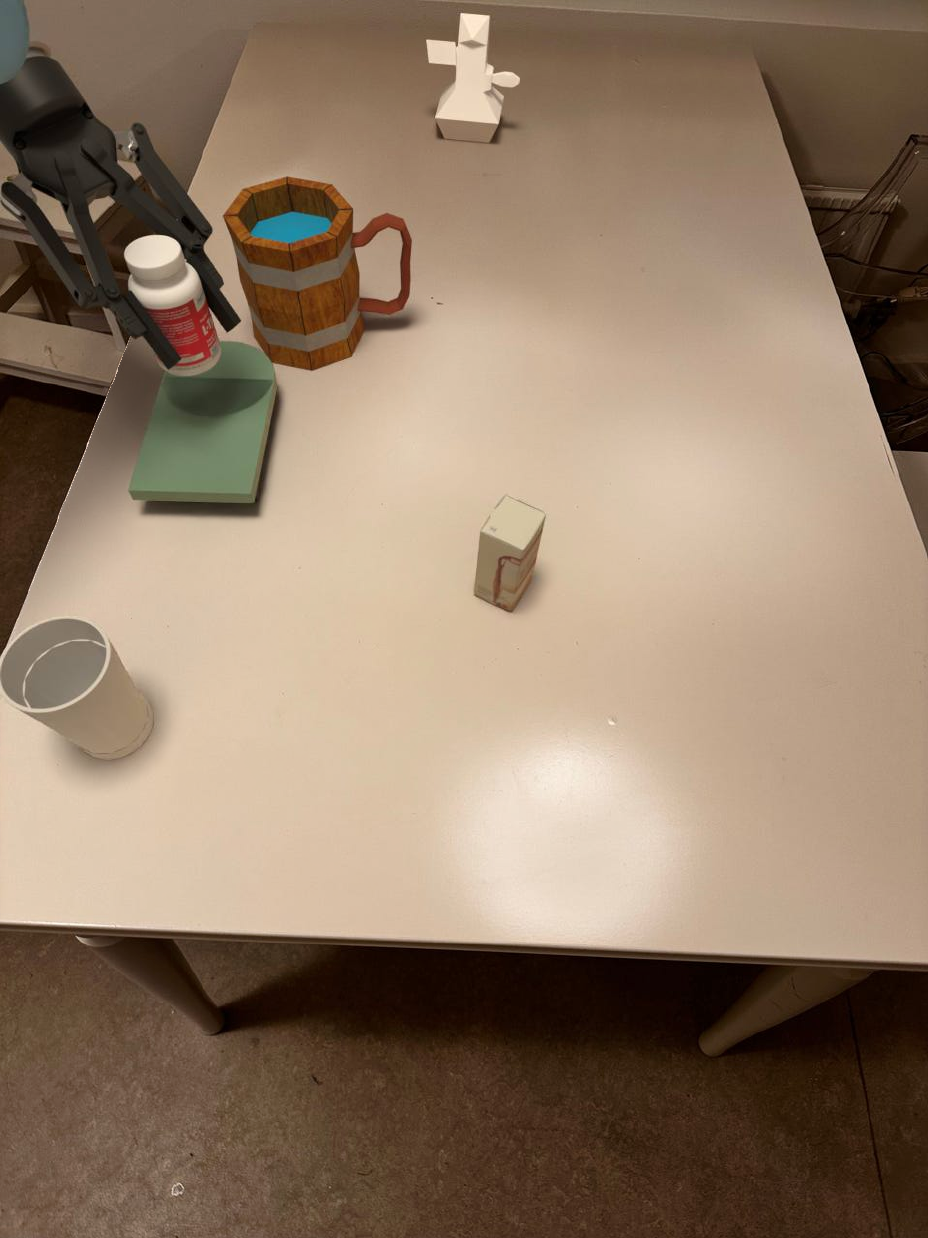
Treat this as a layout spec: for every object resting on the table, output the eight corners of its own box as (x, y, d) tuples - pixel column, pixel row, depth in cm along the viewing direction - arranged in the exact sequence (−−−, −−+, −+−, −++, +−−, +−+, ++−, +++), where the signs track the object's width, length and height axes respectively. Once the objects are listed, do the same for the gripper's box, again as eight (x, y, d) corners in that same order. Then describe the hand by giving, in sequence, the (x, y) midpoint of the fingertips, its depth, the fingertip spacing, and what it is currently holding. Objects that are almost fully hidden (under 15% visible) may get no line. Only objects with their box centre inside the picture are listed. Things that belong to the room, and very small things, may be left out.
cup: (178, 736, 64) (127, 675, 53) (87, 787, 61) (15, 733, 51) (142, 667, 67) (87, 597, 57) (54, 713, 65) (-19, 648, 54)
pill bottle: (227, 371, 71) (194, 265, 61) (162, 384, 70) (118, 279, 60) (216, 330, 74) (183, 223, 64) (154, 342, 73) (110, 235, 63)
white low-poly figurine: (512, 148, 113) (521, 42, 101) (421, 139, 113) (419, 33, 101) (517, 120, 117) (526, 15, 105) (429, 111, 117) (428, 6, 106)
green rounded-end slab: (259, 518, 76) (250, 493, 72) (141, 515, 76) (127, 490, 72) (288, 370, 87) (281, 342, 84) (185, 367, 87) (174, 339, 83)
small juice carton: (512, 614, 71) (522, 553, 62) (472, 594, 72) (476, 531, 63) (536, 575, 73) (549, 511, 65) (497, 556, 74) (504, 491, 66)
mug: (253, 374, 86) (220, 255, 74) (254, 300, 93) (223, 179, 80) (420, 362, 88) (417, 243, 75) (409, 290, 95) (404, 170, 82)
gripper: (109, 66, 66) (270, 307, 75) (-96, 151, 58) (110, 408, 67) (124, 13, 60) (297, 283, 69) (-104, 101, 52) (125, 391, 61)
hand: (204, 344), depth 68 cm, fingers closed on pill bottle, 6 cm apart
